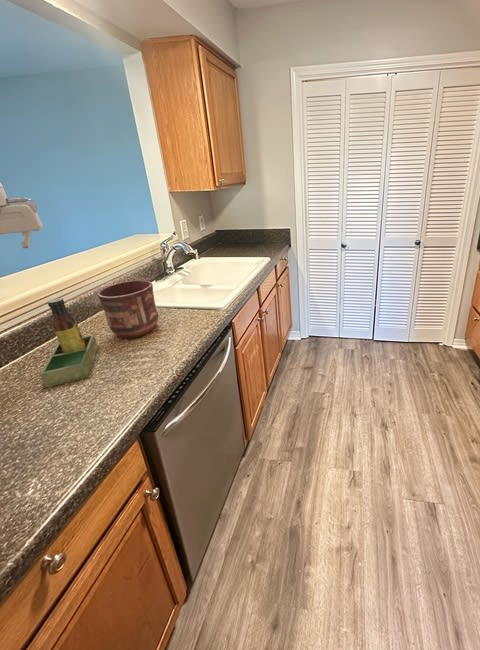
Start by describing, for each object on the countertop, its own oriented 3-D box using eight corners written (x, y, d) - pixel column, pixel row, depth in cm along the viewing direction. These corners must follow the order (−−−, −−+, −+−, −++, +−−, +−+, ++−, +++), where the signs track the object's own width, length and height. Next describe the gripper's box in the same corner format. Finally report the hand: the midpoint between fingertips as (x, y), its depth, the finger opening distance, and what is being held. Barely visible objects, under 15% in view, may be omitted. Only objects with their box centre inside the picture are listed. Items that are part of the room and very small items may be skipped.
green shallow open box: (46, 387, 93) (39, 374, 91) (63, 354, 111) (58, 341, 109) (88, 377, 97) (83, 364, 95) (98, 346, 114) (94, 334, 112)
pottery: (159, 338, 118) (148, 292, 111) (106, 347, 114) (91, 300, 106) (164, 318, 133) (154, 277, 126) (117, 325, 129) (105, 283, 122)
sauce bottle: (91, 352, 108) (72, 298, 101) (71, 362, 103) (49, 305, 96) (81, 348, 112) (61, 295, 104) (61, 357, 107) (39, 302, 99)
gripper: (36, 196, 94) (52, 243, 99) (-55, 202, 87) (-32, 252, 93) (28, 197, 89) (46, 247, 94) (-69, 204, 82) (-43, 257, 87)
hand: (7, 249), depth 93 cm, fingers open, 8 cm apart
